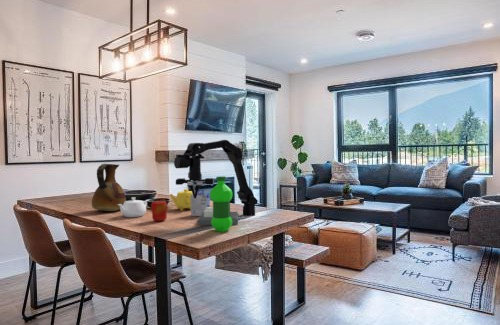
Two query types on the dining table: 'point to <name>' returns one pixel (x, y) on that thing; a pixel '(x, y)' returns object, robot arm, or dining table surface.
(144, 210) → the teapot
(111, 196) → the ceramic pitcher
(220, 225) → the plastic bottle
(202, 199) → the ink cartridge box
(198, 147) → the robot arm
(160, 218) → the red rounded piece
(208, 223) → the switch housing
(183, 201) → the teapot
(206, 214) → the pale grey cube
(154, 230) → the dining table surface
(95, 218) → the dining table surface
